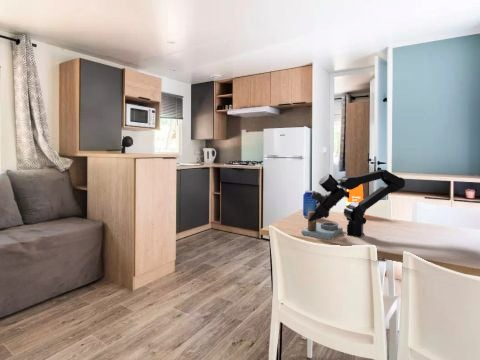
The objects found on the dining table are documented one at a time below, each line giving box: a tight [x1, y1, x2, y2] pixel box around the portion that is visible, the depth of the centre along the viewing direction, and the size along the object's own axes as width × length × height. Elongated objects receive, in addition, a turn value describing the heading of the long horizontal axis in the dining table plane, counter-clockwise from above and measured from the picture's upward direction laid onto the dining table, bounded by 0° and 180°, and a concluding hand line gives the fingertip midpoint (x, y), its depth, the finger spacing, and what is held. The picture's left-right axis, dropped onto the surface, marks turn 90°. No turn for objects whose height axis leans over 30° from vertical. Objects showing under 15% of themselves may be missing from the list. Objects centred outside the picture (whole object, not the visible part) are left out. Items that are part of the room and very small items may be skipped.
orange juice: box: [345, 184, 364, 207], centre depth 190 cm, size 8×9×20 cm
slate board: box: [301, 221, 344, 240], centre depth 149 cm, size 14×17×4 cm
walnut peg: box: [307, 211, 317, 231], centre depth 147 cm, size 4×4×9 cm
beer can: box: [302, 190, 317, 219], centre depth 183 cm, size 8×8×16 cm
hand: (309, 219), depth 147 cm, fingers closed on walnut peg, 4 cm apart
